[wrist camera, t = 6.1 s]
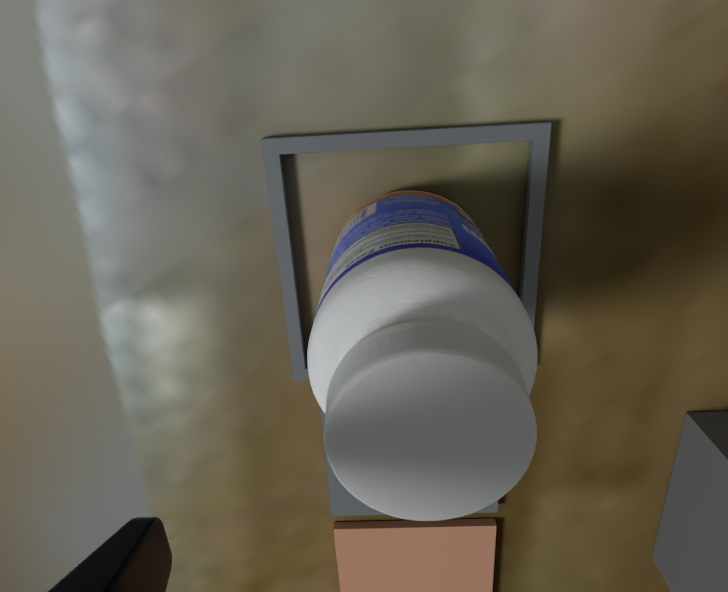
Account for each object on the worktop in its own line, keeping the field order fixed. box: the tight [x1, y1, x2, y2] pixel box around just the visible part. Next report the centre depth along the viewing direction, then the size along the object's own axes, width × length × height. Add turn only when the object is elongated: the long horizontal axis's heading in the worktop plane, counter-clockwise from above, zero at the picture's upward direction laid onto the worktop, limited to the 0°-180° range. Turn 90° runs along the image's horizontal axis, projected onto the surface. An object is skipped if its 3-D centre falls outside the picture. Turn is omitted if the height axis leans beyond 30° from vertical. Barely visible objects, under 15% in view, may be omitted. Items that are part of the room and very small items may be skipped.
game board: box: [261, 121, 551, 592], centre depth 23 cm, size 9×32×1 cm, turn 3°
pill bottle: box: [307, 190, 538, 521], centre depth 14 cm, size 5×5×10 cm
